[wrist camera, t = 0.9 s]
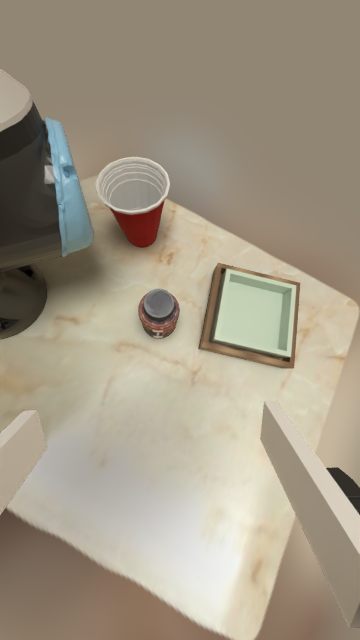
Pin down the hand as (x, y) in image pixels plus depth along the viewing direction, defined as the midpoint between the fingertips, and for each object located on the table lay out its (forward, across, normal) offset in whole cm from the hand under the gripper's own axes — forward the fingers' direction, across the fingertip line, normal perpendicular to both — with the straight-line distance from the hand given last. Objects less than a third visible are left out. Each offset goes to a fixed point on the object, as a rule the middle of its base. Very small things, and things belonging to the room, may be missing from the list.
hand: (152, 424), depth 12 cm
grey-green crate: (+26, +15, -1) cm, 30 cm away
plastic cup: (+34, -5, +14) cm, 38 cm away
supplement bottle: (+26, -2, -2) cm, 26 cm away
